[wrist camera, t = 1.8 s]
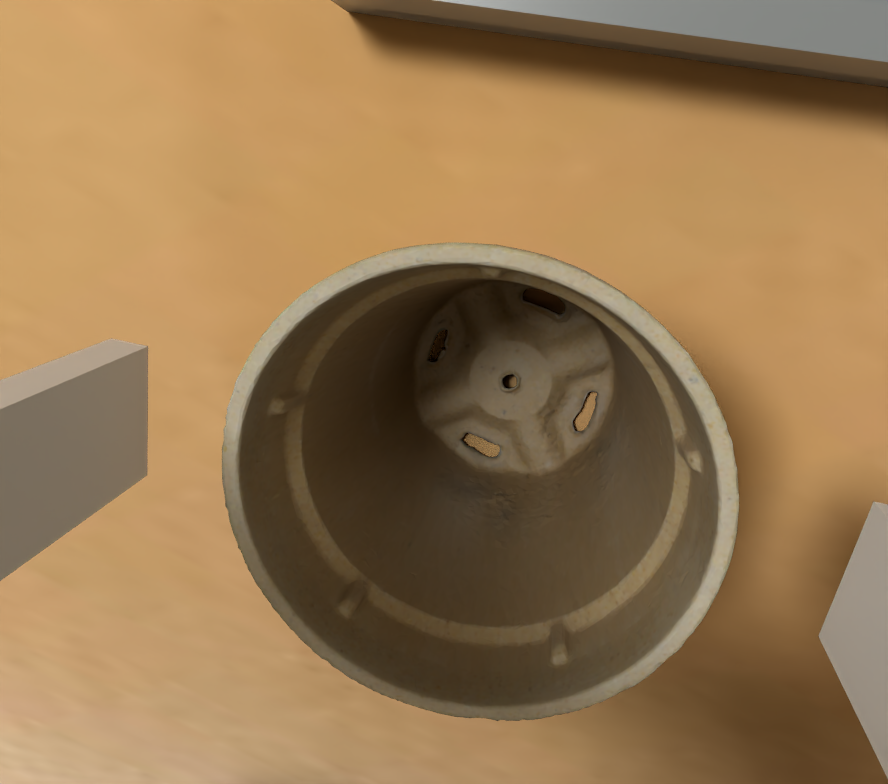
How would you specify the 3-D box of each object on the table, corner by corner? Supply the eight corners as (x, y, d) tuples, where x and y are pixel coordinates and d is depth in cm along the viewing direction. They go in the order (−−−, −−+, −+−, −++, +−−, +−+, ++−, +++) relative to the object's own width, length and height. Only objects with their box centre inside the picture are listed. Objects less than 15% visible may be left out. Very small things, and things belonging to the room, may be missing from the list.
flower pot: (367, 513, 23) (251, 699, 15) (342, 218, 20) (183, 250, 12) (665, 526, 21) (719, 748, 13) (683, 206, 18) (764, 234, 10)
